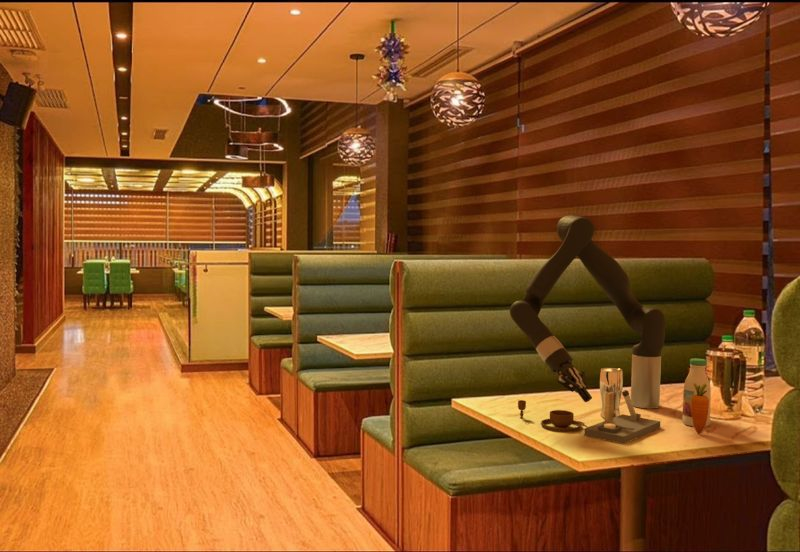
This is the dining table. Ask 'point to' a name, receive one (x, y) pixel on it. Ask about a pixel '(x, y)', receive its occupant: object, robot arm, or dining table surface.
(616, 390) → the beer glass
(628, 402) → the toggle lever
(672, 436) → the dining table surface
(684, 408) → the milk bottle
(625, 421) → the switch panel
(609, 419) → the block
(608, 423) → the push button
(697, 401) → the carrot
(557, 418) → the place setting
